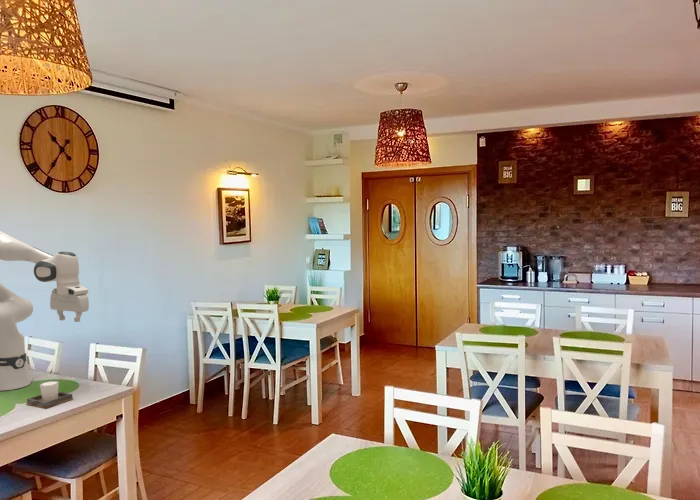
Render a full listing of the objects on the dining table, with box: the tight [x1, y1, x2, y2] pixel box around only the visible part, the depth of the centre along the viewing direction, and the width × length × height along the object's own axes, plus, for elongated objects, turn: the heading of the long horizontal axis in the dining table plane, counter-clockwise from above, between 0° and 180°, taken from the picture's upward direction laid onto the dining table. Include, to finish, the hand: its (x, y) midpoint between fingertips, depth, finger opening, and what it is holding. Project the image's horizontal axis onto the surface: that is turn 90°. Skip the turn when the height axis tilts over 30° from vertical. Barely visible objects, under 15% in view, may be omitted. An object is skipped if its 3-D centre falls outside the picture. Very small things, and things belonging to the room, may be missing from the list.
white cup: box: [39, 380, 60, 402], centre depth 225 cm, size 7×7×7 cm
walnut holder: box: [26, 391, 74, 410], centre depth 225 cm, size 12×12×2 cm
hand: (69, 320), depth 237 cm, fingers open, 8 cm apart
